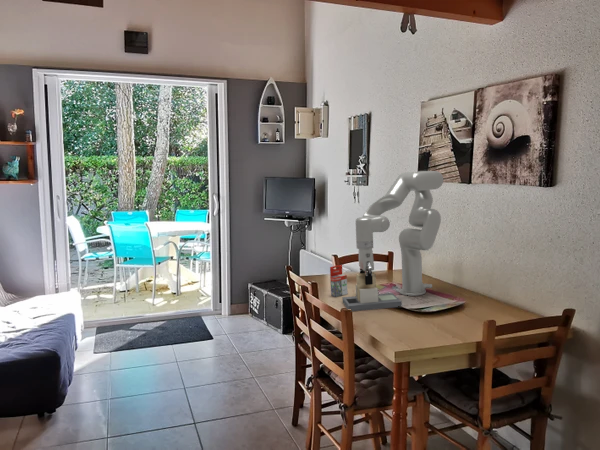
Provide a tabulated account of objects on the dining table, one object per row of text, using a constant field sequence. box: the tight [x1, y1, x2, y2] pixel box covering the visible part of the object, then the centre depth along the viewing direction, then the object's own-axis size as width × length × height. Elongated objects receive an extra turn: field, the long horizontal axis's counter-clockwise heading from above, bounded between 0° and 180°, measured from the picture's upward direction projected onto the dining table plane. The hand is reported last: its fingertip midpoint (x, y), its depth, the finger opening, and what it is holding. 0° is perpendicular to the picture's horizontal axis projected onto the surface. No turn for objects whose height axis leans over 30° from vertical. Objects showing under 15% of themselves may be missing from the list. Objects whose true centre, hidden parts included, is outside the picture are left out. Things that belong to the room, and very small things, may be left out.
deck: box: [341, 292, 403, 312], centre depth 219 cm, size 24×14×3 cm, turn 96°
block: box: [355, 271, 377, 302], centre depth 217 cm, size 8×4×12 cm, turn 96°
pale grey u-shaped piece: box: [355, 284, 379, 303], centre depth 218 cm, size 8×9×6 cm
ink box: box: [329, 264, 349, 298], centre depth 236 cm, size 4×8×15 cm, turn 123°
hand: (366, 281), depth 217 cm, fingers open, 9 cm apart
